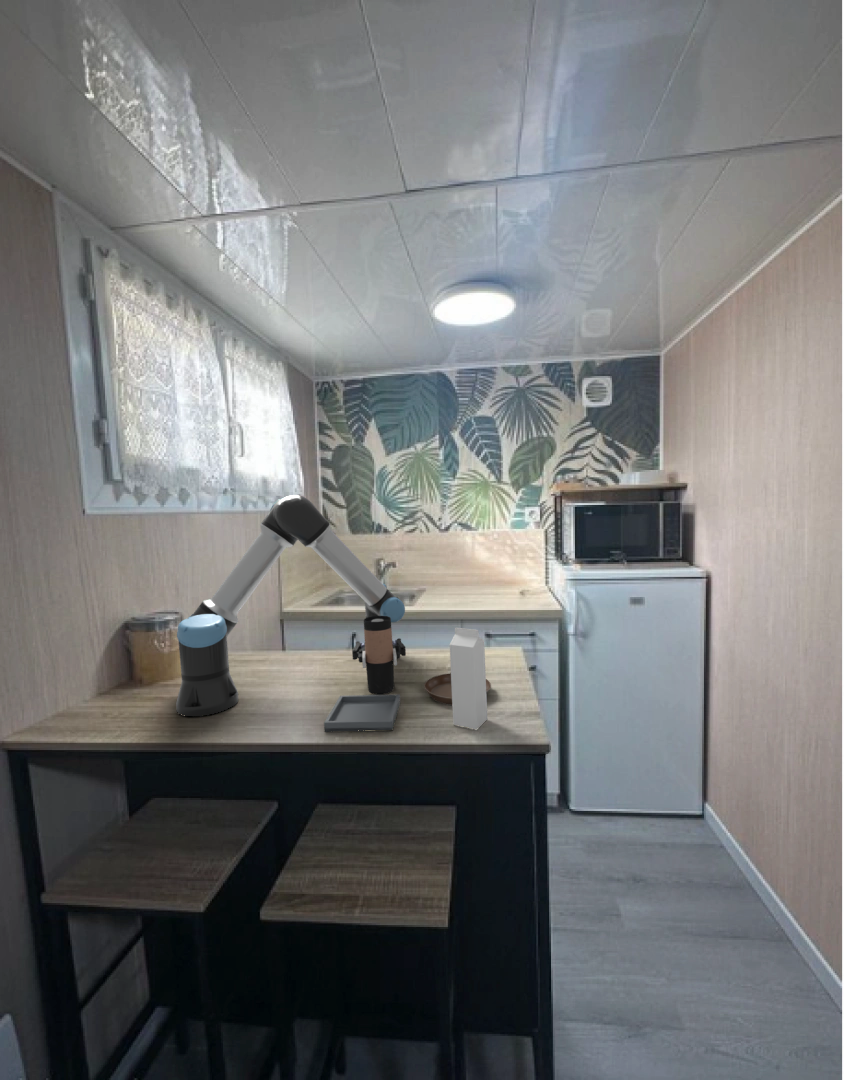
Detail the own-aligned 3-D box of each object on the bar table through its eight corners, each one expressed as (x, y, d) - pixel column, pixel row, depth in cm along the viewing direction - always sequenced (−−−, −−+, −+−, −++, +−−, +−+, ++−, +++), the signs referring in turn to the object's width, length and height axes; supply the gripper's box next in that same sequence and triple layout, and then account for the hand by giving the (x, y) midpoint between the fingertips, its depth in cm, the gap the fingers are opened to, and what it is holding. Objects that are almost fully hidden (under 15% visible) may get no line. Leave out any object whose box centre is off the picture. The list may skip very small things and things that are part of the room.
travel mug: (361, 690, 134) (357, 619, 133) (383, 682, 140) (380, 614, 138) (378, 697, 129) (374, 623, 127) (400, 689, 134) (396, 618, 132)
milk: (464, 715, 115) (460, 624, 114) (488, 720, 112) (484, 626, 111) (452, 725, 110) (448, 630, 109) (477, 731, 107) (472, 633, 106)
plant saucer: (502, 689, 131) (501, 678, 131) (472, 714, 116) (471, 702, 116) (445, 679, 141) (445, 668, 140) (411, 701, 126) (411, 689, 126)
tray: (324, 731, 110) (324, 722, 110) (340, 703, 126) (340, 695, 125) (392, 730, 109) (391, 721, 109) (400, 702, 125) (399, 694, 124)
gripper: (411, 647, 153) (418, 672, 130) (345, 653, 151) (341, 678, 128) (410, 624, 152) (417, 644, 129) (344, 629, 150) (340, 650, 127)
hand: (379, 661), depth 129 cm, fingers closed on travel mug, 8 cm apart
